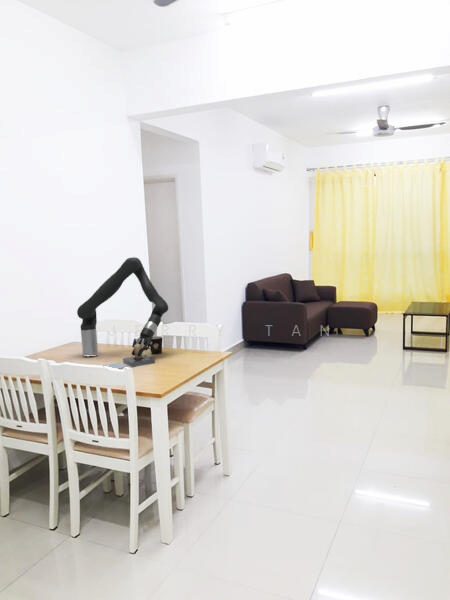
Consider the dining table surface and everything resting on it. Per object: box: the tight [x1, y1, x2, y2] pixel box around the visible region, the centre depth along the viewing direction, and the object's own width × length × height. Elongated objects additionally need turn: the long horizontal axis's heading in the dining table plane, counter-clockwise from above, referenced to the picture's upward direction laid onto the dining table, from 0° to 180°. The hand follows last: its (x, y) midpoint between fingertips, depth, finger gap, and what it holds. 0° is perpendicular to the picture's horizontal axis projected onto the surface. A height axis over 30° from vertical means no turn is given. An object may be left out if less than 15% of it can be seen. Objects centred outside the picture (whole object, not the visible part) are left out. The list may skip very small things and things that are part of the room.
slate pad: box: [102, 361, 129, 370], centre depth 276 cm, size 14×10×1 cm
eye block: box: [122, 354, 156, 368], centre depth 283 cm, size 14×14×2 cm
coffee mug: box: [146, 335, 163, 356], centre depth 306 cm, size 12×9×10 cm
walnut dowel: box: [133, 344, 143, 360], centre depth 283 cm, size 4×4×10 cm
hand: (135, 355), depth 281 cm, fingers closed on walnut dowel, 4 cm apart
